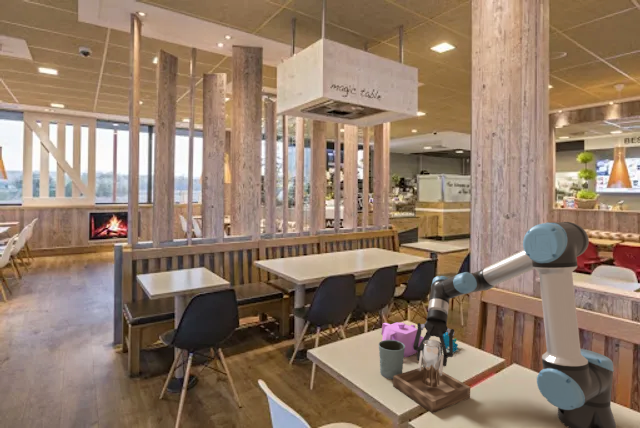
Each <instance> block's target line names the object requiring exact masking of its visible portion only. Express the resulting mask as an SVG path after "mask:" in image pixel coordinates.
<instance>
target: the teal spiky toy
mask: <svg viewBox="0 0 640 428" xmlns="http://www.w3.org/2000/svg"><path fill="white" fill-rule="evenodd" d="M443 339H444V343H445V347H446V350H447V349H448V350H447V351H449V335H448V332H445V333H444V334H443ZM457 341H458V338H453V353H456V351H458V346H459V345H458V344H457V343H456V342H457Z"/></svg>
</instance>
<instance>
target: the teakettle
mask: <svg viewBox="0 0 640 428" xmlns="http://www.w3.org/2000/svg"><path fill="white" fill-rule="evenodd" d="M381 325H382V327H381V332H380V333H381V335H382V340H381V341H384V340H396V341H399V342H401V343H403V344H404V345H405V350H404V358H408V357H411V356H412V355H413V356H414V355H415V354H417V352H418V351H416V350H414V347H413V344H414V341H415V337H416V334H417V330H418V328H416V325H415V324H410V325H408V324H405V323H404V322H397V321H396V322H394V323H391V324H390V323H388V322H384V323H381ZM423 338H424V337H423V336H422V335H421V336H420V340H419V344H418V347H419V345H420V343H421V342H422V340H423Z"/></svg>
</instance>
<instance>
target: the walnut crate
mask: <svg viewBox="0 0 640 428" xmlns="http://www.w3.org/2000/svg"><path fill="white" fill-rule="evenodd" d="M439 371H440V370H439ZM423 375H424V370H423V366H422V367H421V371H419V370H418V367H417V368H414V369H411V370H408V371H405V372H402V373H401V374H398V375H395V376H393V379H392V381H393V382H392V387H393V388H394V389H396V390H398V391H399V392H401V394H403V395H405V396H406V397H408V398H409V399H411V401H413V400H414V401H413V402H415V403H416V404H418V405H419V406H421V407H422V408H423V409H425V410H426V411H428V412H429V413H431V414H434V413H437V412H440V411H441V410H444V409H446V408H448V407H451V406H454V405H456V404H458V403H462V402H463V401H466V400H468V399H470V398H471V386H470V385H467V384H465V383H464V382H462V381H460V380H458V379H456V378H455V377H453V376H452V375H449V374H448V373H445V372H444V371H442V376H440V374H439V383H440V385H439V386H438V387H434V388H433V387H428V386H425V385H424V384H423V383H422V379H423Z"/></svg>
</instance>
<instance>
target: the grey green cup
mask: <svg viewBox="0 0 640 428" xmlns="http://www.w3.org/2000/svg"><path fill="white" fill-rule="evenodd" d="M404 350H405V345H404V344H403V343H401V342H399V341H396V340H384V341H382V340H381V341H379V343H378V351H379V370H380V372H379V373H380V375H381V376H382V377H383V378H386V379H388V380H393V376H395V375H398V374H401V373H403V369H404V368H403V367H404V358H405V357H404Z"/></svg>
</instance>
